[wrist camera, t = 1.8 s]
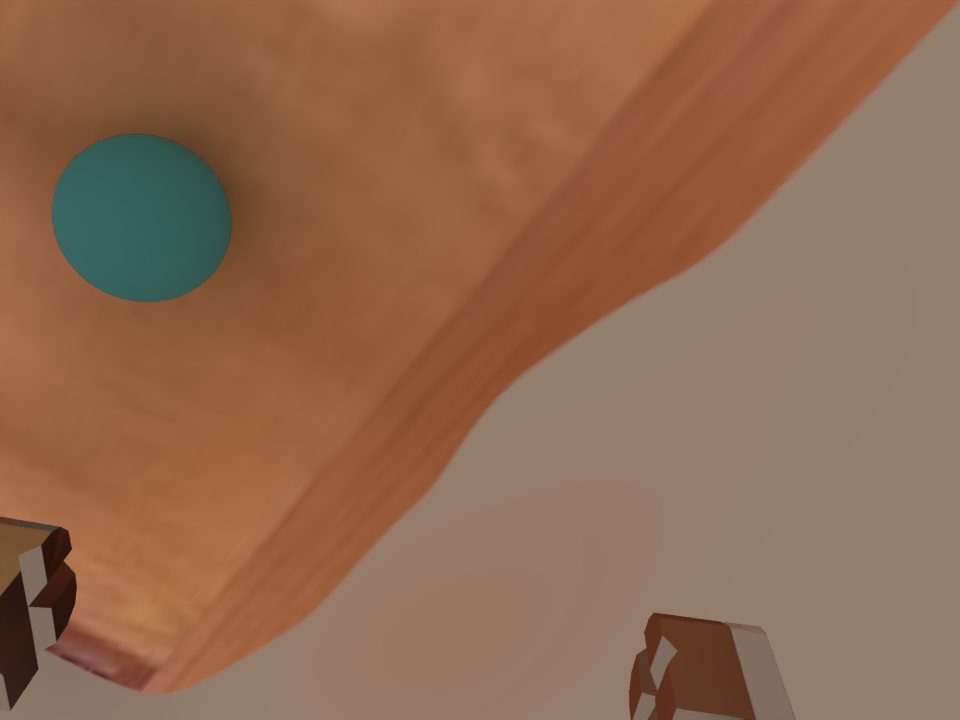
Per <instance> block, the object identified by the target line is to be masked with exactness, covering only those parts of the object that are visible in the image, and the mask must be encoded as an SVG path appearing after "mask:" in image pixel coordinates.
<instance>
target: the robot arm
mask: <svg viewBox="0 0 960 720" xmlns="http://www.w3.org/2000/svg"><path fill="white" fill-rule="evenodd" d="M71 550H72V547H71V542H70V536H69V531H68V530H66V529H64V528H62V527H58V526H53V525H47V524H41V523H35V522H29V521H23V520H17V519H11V518H6V517H0V710H5V711H11V709H12V708H13V706H14V705H15V703H16V702H17V700H18V699H19V697H20V696H21V694H22V693H23V691H24V690H25V688H26V687H27V685H28V684H29V683H30V681H31V680H32V678H33V676H34V675H35V674H36V672H37V671H38V664H37V657H36V654H37V653H38V652H40V651H42V650H44V649H45V648H47V647H49V646H51V645H52V644H54V643H56V642H57V640H58V639H59V637H60V636H61V634H62V633H63V631H64V629H65V628H66V626H67V625H68V622H69V619H70V616H71V614H72V611H73V608H74V605H75V600H76V591H77V584H76V576H75V573H74V572H73V571H72V570H71V568H70V567H69V566H68V565H67V564H66V563H65V562H64V559H65V558H66V557H67V555H68V554H69V553H70V551H71ZM644 634H645V641H646V647H647V648H646V649H644V650H643V651H642V652H640V653H638V654H637V655H636V659H635V662H634V665H633V669H632V673H631V681H630V689H629V707H630V717H631V720H796V719H795V716H794V713H793V710H792V707H791V704H790V701H789V698H788V696H787V693H786V690H785V687H784V684H783V681H782V678H781V675H780V673H779V669H778V667H777V664H776V661H775V658H774V655H773V652H772V649H771V647H770V643H769V641H768V638H767V635H766V632H765V631H764V630H763V629H762V628H761V627H758V626H750V625H743V624H735V623H728V622H724V623H722V622H718V621H712V620H704V619H697V618H690V617H682V616H675V615H668V614H660V613H653V614H652V616H651V617H650V618H649V620H648V623H647V626H646V629H645V631H644Z"/></svg>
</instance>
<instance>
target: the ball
mask: <svg viewBox="0 0 960 720" xmlns="http://www.w3.org/2000/svg"><path fill="white" fill-rule="evenodd" d="M52 222H53V229H54V233H55V236H56V240H57V242H58V245H59V247H60V249H61V251H62V253H63V254H64V256H65V258H66V259H67V261H68V262H69V263H70V265H71V266H72V267H73V268H74V269H75V270H76V271H77V273H78V274H79V275H80V276H82V277H83V278H84V279H85V280H86V281H87V282H89V283H90V284H92V285H93V286H95V287H96V288H98V289H100V290H102V291H103V292H105V293H108V294H110V295H112V296H115V297H118V298H121V299H126V300H131V301H138V302H158V301H164V300H169V299H173V298H176V297H179V296H182V295H184V294H186V293H188V292H190V291H192V290H194V289H195V288H197V287H198V286H200V285H201V284H202V283H203V282H205V281H206V280H207V279H208V278H209V277H210V276H211V275H212V274H213V273H214V271H215V270H216V269H217V268H218V266H219V264H220V263H221V261H222V259H223V257H224V256H225V253H226V250H227V248H228V244H229V240H230V235H231V212H230V207H229V202H228V199H227V196H226V193H225V191H224V189H223V187H222V185H221V183H220V181H219V180H218V178H217V176H216V175H215V174H214V172H213V171H212V170H211V169H210V167H209V166H208V165H207V164H206V163H205V162H204V161H203V160H202V159H201V158H200V157H198V156H197V155H196V154H195V153H193V152H192V151H190V150H189V149H187V148H185V147H184V146H182V145H180V144H178V143H175V142H173V141H170V140H168V139H165V138H162V137H158V136H153V135H146V134H125V135H119V136H113V137H110V138H107V139H105V140H102V141H99V142H97V143H95V144H93V145H91V146H89V147H88V148H86V149H85V150H84V151H82V152H81V153H80V154H78V155H77V156H76V157H75V158H74V159H73V160H72V161H71V162H70V163H69V165H68V166H67V168H66V169H65V170H64V172H63V173H62V175H61V177H60V179H59V181H58V183H57V186H56V189H55V193H54V196H53V202H52Z"/></svg>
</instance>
